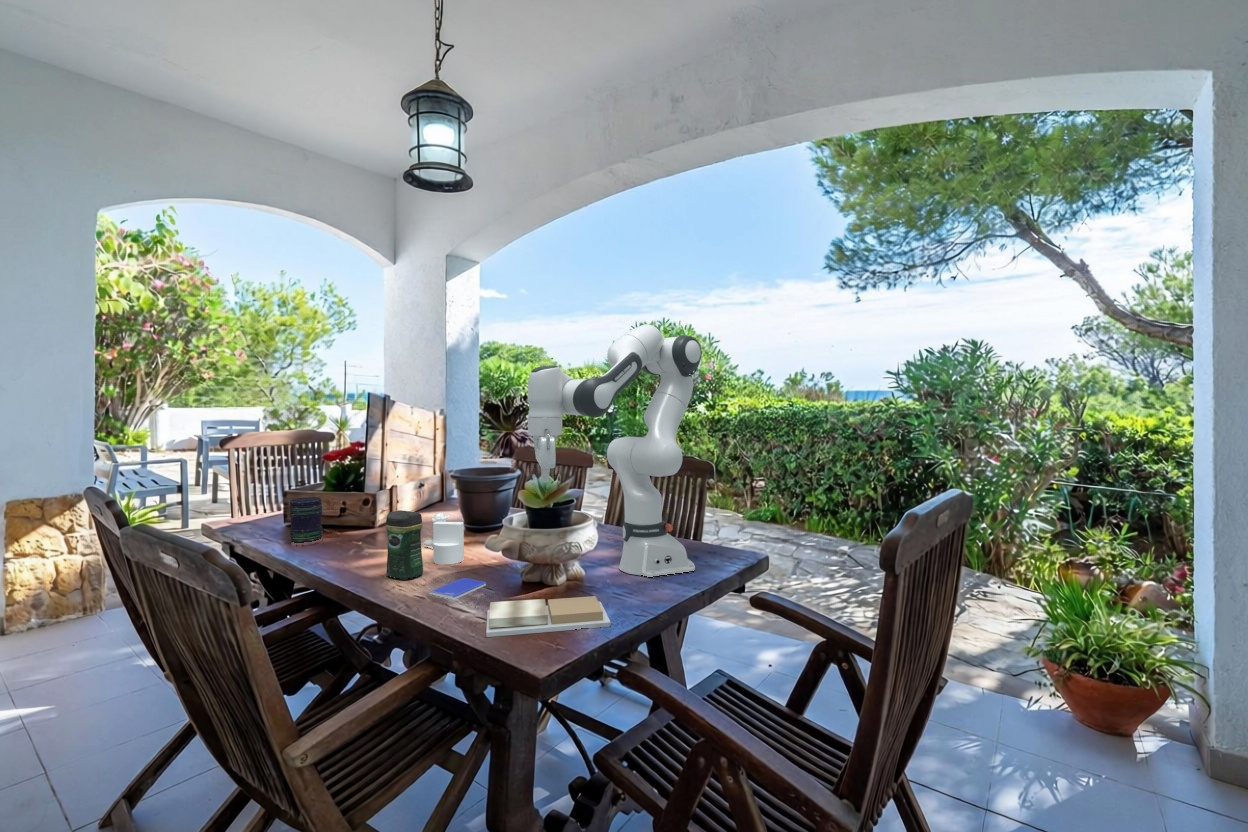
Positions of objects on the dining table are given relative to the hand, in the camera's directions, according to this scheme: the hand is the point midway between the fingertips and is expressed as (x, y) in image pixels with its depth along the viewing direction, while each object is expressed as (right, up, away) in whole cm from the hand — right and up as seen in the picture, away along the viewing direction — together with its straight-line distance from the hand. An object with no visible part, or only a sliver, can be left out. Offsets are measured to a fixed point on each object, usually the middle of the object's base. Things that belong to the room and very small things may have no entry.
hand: (545, 481), depth 149 cm
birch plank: (-4, -29, -19) cm, 34 cm away
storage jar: (-89, -27, +50) cm, 106 cm away
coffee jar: (-42, -29, +15) cm, 53 cm away
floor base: (+3, -30, -17) cm, 34 cm away
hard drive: (-23, -30, +3) cm, 38 cm away
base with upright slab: (-34, -28, +29) cm, 52 cm away
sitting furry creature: (-41, -28, +44) cm, 66 cm away
